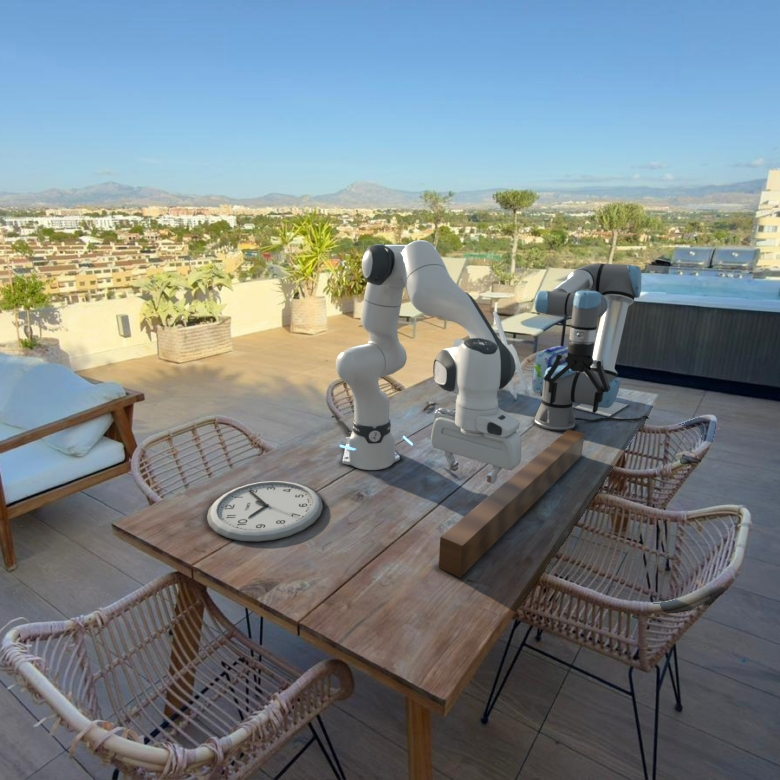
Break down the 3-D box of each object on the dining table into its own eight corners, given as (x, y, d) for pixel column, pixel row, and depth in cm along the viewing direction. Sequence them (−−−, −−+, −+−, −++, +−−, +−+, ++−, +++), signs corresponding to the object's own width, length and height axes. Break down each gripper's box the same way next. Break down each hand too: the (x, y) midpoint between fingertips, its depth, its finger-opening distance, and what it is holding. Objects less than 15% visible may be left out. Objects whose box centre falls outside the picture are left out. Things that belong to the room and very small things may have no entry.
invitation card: (608, 416, 214) (573, 407, 224) (608, 416, 214) (573, 408, 224) (628, 404, 229) (594, 396, 238) (628, 405, 229) (594, 397, 238)
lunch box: (548, 399, 235) (554, 353, 228) (527, 393, 242) (532, 349, 236) (576, 387, 252) (581, 345, 246) (555, 383, 259) (560, 341, 253)
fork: (420, 411, 216) (420, 406, 216) (430, 400, 230) (431, 395, 230) (426, 412, 215) (426, 407, 215) (436, 401, 230) (436, 396, 229)
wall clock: (320, 533, 126) (192, 537, 124) (320, 539, 127) (193, 543, 124) (324, 476, 155) (220, 479, 152) (324, 481, 155) (221, 484, 153)
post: (565, 451, 180) (568, 429, 178) (581, 455, 177) (584, 433, 174) (438, 568, 117) (440, 536, 115) (460, 578, 114) (462, 545, 112)
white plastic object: (461, 429, 252) (437, 405, 227) (444, 352, 274) (420, 323, 250) (535, 404, 240) (518, 377, 215) (510, 326, 262) (492, 293, 237)
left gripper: (426, 409, 114) (424, 467, 118) (514, 432, 102) (508, 495, 106) (441, 402, 119) (439, 458, 123) (527, 423, 107) (521, 483, 111)
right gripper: (538, 338, 165) (531, 401, 172) (621, 349, 151) (610, 418, 157) (546, 334, 171) (540, 396, 177) (627, 345, 157) (617, 412, 163)
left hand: (471, 475), depth 114 cm, fingers open, 8 cm apart
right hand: (573, 407), depth 167 cm, fingers open, 13 cm apart
